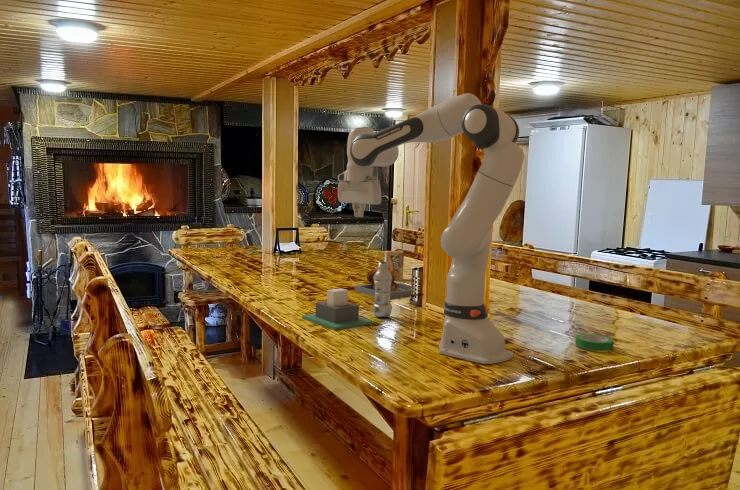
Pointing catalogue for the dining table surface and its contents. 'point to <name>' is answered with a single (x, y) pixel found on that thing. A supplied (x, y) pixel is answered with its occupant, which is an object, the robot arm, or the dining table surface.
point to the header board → (339, 325)
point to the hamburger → (371, 279)
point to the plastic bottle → (382, 291)
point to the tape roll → (594, 342)
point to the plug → (337, 297)
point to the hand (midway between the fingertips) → (358, 216)
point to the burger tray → (406, 292)
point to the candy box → (395, 263)
